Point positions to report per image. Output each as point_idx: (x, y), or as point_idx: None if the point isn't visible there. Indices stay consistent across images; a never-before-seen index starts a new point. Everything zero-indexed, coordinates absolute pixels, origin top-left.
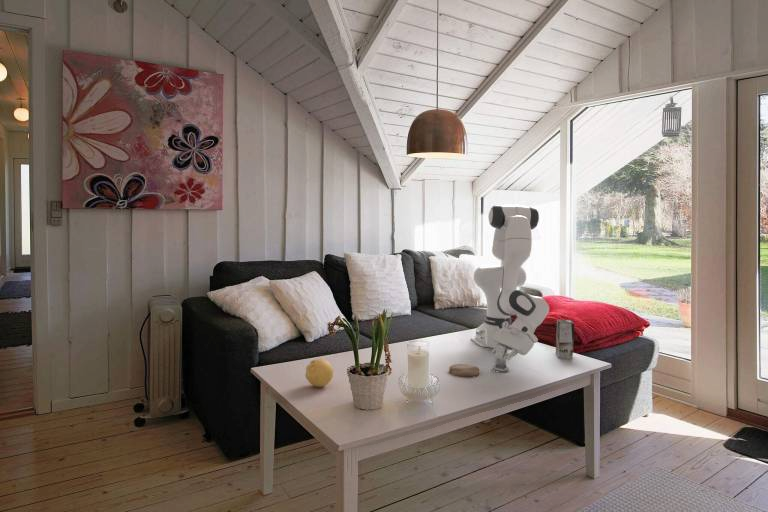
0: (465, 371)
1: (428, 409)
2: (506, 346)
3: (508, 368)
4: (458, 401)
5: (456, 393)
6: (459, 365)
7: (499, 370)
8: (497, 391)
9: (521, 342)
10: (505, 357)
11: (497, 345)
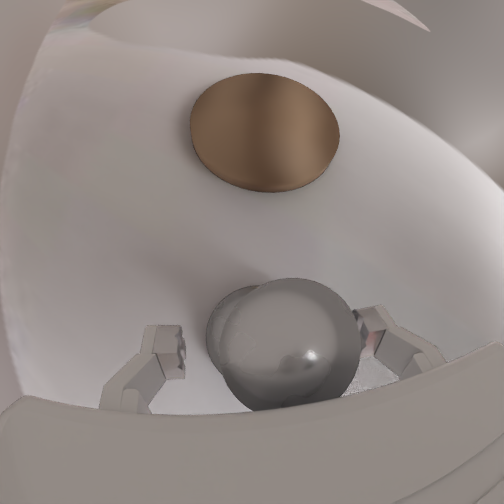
0: (224, 105)
1: (70, 24)
2: (255, 402)
3: (220, 372)
4: (55, 59)
5: (90, 59)
6: (320, 123)
7: (218, 304)
8: (28, 160)
9: (34, 490)
10: (170, 326)
11: (329, 308)
